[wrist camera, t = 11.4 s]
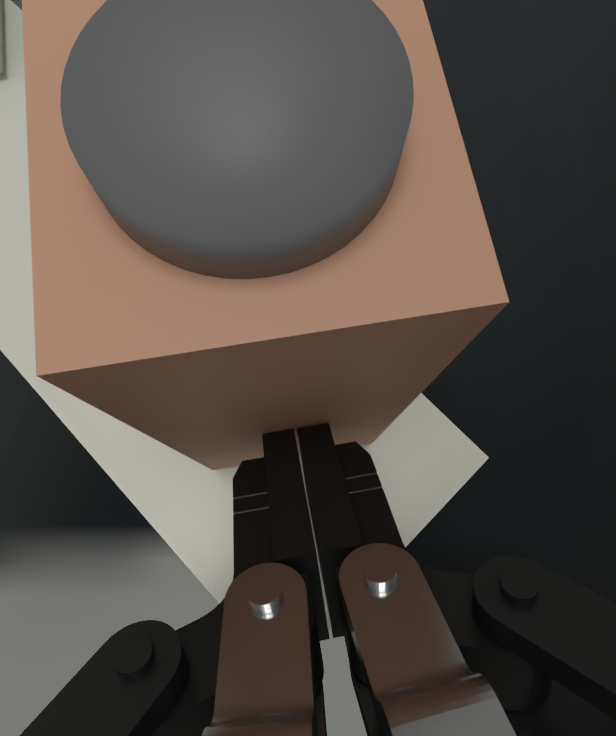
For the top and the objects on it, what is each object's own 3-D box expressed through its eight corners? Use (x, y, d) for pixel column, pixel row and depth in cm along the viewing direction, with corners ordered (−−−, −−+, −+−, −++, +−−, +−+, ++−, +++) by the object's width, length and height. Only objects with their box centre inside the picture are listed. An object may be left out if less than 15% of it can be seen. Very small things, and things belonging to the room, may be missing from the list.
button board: (484, 458, 18) (489, 457, 17) (283, 674, 16) (283, 678, 15) (-20, -25, 23) (-26, -35, 22) (-214, 97, 21) (-224, 89, 21)
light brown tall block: (342, 296, 18) (421, -118, 6) (372, 443, 17) (541, 269, 5) (194, 319, 18) (-15, -71, 6) (212, 470, 17) (-8, 352, 5)
